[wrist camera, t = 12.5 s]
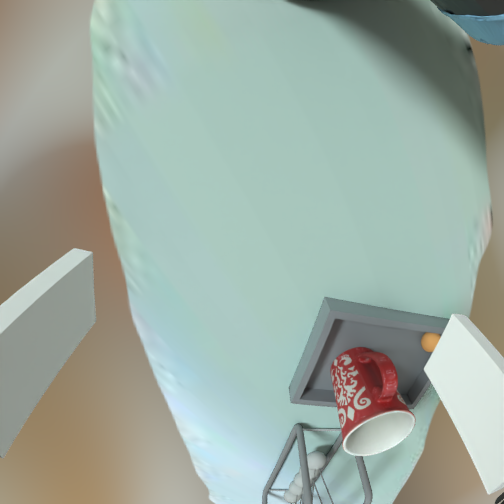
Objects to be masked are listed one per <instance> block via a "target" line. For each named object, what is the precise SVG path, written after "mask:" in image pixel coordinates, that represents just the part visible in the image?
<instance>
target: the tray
mask: <svg viewBox="0 0 504 504" xmlns="http://www.w3.org/2000/svg"><path fill="white" fill-rule="evenodd" d="M449 320H450V319H446V318H440V317H434V316H428V315H422V314H416V313H410V312H404V311H398V310H393V309H387V308H381V307H376V306H370V305H365V304H360V303H354V302H349V301H343V300H338V299H333V298H328V297H324V300H323V303H322V306H321V308H320V311H319V314H318V316H317V319H316V322H315V324H314V327H313V330H312V332H311V335H310V337H309V340H308V342H307V345H306V348H305V350H304V353H303V355H302V357H301V360H300V362H299V365H298V367H297V370H296V372H295V374H294V377H293V379H292V382H291V384H290V386H289V393H290V401H291V403H294V404H304V405H315V406H327V407H337V404H336V399H335V394H334V389H333V384H332V379H331V373H330V369H331V365H332V363H333V362H334V360H335V359H336V358H337V357H338V356H339V355H340V354H341V353H343V352H345V351H347V350H349V349H352V348H356V347H365V348H369V349H371V350H372V351H374V352H380V353H383V354H385V355H387V356H388V357H389V358H390V359H391V360H392V362H393V364H394V366H395V368H396V371H397V375H398V387H397V390H398V392H399V393H400V395H401V397H402V398H403V400H404V402H405V404H406V405H407V407H408V409H414V407H415V406H416V405H417V403H418V402H419V400H420V399H421V397H422V396H423V394H424V393H425V391H426V390H427V388H428V387H429V385H430V384H431V381H430V379H429V378H428V376H427V374H426V372H425V371H424V367H425V366H426V364H427V362H428V360H429V359H430V357H431V355H432V353H433V352H427V351H425V350H424V349H423V348H422V346H421V339H422V336H423V335H424V334H425V333H426V332H429V333H436V334H439V335H440V337H441V336H442V334H443V332H444V330H445V328H446V326H447V324H448V322H449Z"/></svg>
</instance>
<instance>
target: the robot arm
mask: <svg viewBox="0 0 504 504" xmlns="http://www.w3.org/2000/svg"><path fill="white" fill-rule="evenodd" d="M431 1H432V2H433V3H434V4H435V5H436V6H437V8H438V9H439V10H440V11H441V12H442V13H443V14H445V15H446V16H448V17H450V18H451V19H452V20H453V21H455V22H456V23H457V24H458V25H459V26H460V27H461V28H462V29H463V30H464V31H465V32H466V33H467V34H469V35H470V36H471V37H473V38H474V39H476V40H478V41H480V42H483V43H487V44H493V45H504V0H431ZM95 322H96V312H95V298H94V280H93V252H89V251H85V250H80V249H76V248H74V249H73V250H71V251H70V252H68V253H67V254H66V255H64V256H63V257H61V258H60V259H59V260H57V261H56V262H55V263H53V264H52V265H51V266H49V267H48V268H47V269H45V270H44V271H43V272H41V273H40V274H39V275H37V276H36V277H35V278H34V279H32V280H31V281H30V282H28V283H27V284H26V285H25V286H23V287H22V288H21V289H20V290H18V291H17V292H16V293H15V294H14V295H12V296H11V297H10V298H9V299H8V300H6V301H5V302H4V303H3V304H2V305H0V457H1V458H4V457H5V455H6V453H7V451H8V450H9V448H10V446H11V444H12V443H13V441H14V439H15V438H16V436H17V435H18V433H19V431H20V430H21V428H22V427H23V425H24V423H25V422H26V420H27V419H28V417H29V415H30V414H31V412H32V411H33V409H34V408H35V406H36V405H37V403H38V402H39V400H40V399H41V397H42V396H43V394H44V393H45V391H46V390H47V388H48V387H49V385H50V384H51V382H52V381H53V379H54V378H55V376H56V375H57V373H58V372H59V371H60V369H61V368H62V367H63V365H64V364H65V362H66V361H67V359H68V358H69V357H70V355H71V354H72V353H73V351H74V350H75V349H76V347H77V346H78V344H79V343H80V342H81V340H82V339H83V338H84V336H85V335H86V334H87V332H88V331H89V330H90V328H91V327H92V326H93V324H94V323H95ZM424 371H425V372H426V374H427V376H428V378H429V379H430V381H431V383H432V384H433V386H434V388H435V390H436V392H437V393H438V395H439V397H440V399H441V400H442V402H443V404H444V406H445V408H446V410H447V411H448V413H449V415H450V417H451V419H452V420H453V422H454V424H455V426H456V428H457V430H458V432H459V434H460V436H461V438H462V440H463V442H464V444H465V446H466V448H467V450H468V452H469V454H470V456H471V458H472V460H473V462H474V464H475V467H476V468H477V470H478V473H479V475H480V477H481V479H482V482H483V484H484V486H485V488H486V491H487V493H488V495H489V494H491V493H493V492H495V491H498V490H500V489H502V488H503V487H504V358H503V356H502V355H501V354H500V353H499V352H498V351H497V350H496V348H494V346H493V345H492V344H491V343H490V341H489V340H488V339H487V338H486V337H485V336H484V335H483V334H482V333H481V332H480V330H479V329H478V328H477V327H476V326H475V325H474V324H473V323H472V322H471V321H470V320H469V318H468V317H467V316H466V315H461V314H452V316H451V318H450V320H449V322H448V324H447V326H446V328H445V330H444V332H443V334H442V336H441V338H440V340H439V342H438V344H437V346H436V347H435V349H434V351H433V353H432V355H431V357H430V359H429V360H428V362H427V364H426V366H425V367H424ZM503 499H504V493H502V494H501V495H500V496H499V497H498V498H497V500H496V502H495V504H498V503H499V502H500V501H501V500H503ZM501 504H504V501H503V502H502V503H501Z"/></svg>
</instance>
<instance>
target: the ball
mask: <svg viewBox="0 0 504 504" xmlns="http://www.w3.org/2000/svg"><path fill="white" fill-rule="evenodd" d="M440 338H441V337H440V335H439V334H436V333H429V332H426V333H425V334H424V335H423V336H422V339H421V346H422V348H423V349H424V350H425V351H427V352H433V351H434V349H435V347H436V346H437V344H438V342H439V340H440Z"/></svg>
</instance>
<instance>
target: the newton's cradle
mask: <svg viewBox="0 0 504 504" xmlns="http://www.w3.org/2000/svg"><path fill="white" fill-rule="evenodd" d="M303 430H306V431H341V429H310V428H303V427H302V426H301V425H300V424H296V425H294V427H293V429H292V431H291V433H290V436H289V438H288V440H287V442H286V444H285V447H284V449H283V451H282V453H281V455H280V457H279V460H278V462H277V464H276V466H275V468H274V470H273V472H272V474H271V476H270V478H269V480H268V482H267V484H266V486H265V488H264V490H263V495H262V504H267V495H268V491H285V493H284V499H285V500H286V501H287V502H289V503H291V504H292V503H295V502H297V501H299V500H300V498H301V499H302V504H312V501H313V492H312V491H311V487H312V485H313V491H314V486H315V483H314V482H315V481H316V480H317V478H318V477H319V476H320V474H321V473H322V471H323V470H324V468H325V467H326V465H327V464H328V463H329V461H330V460H331V458H332V457H333V455H334V454H335V452H336V450H337V449H338V447H339V446H340V444H341V443H342V441H343V437H342V432H341V433H340V435H339V437H338V438H337V440H336V442H335V443H334V445H333V447H332V448H331V450H330V451H329V453H328V455H327V456H326V457H325V455H324V454H323V453H322V452H320V451H313V452H311V453H309V454H308V455H307V454H306V447H305V440H304V433H303ZM296 435H297V441H298V449H299V458H300V466H301V467H300V469H299V472H298V473H297V474H296V475H295V477H294V481H292V482H291V483H290V485H289V489H287V490H276V489H270V487H271V485H272V483H273V481H274V480H275V478H276V476H277V474H278V472H279V470H280V468H281V466H282V464H283V462H284V460H285V458H286V456H287V454H288V452H289V450H290V448H291V446H292V444H293V442H294V440H295V437H296ZM355 458H356V462H357V465H358V469H359V473H360V477H361V481H362V485H363V489H364V493H365V501H364V503H363V504H371V502H372V490H371V486H370V482H369V478H368V475H367V471H366V467H365V464H364V460H363V457H362V456H355ZM321 477H322V474H321ZM322 479H323V477H322ZM323 482H324V479H323ZM324 484H325V482H324ZM325 487H326V484H325ZM315 488H316V486H315ZM326 489H327V487H326ZM316 491H317V488H316ZM327 492H328V494H329V491H328V489H327ZM317 494H318V491H317ZM318 496H319V494H318ZM329 496H330V494H329ZM319 499H320V496H319ZM330 499H331V496H330ZM320 501H321V499H320ZM331 501H332V499H331ZM295 504H296V503H295ZM300 504H301V500H300ZM321 504H322V502H321ZM332 504H333V501H332Z"/></svg>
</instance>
